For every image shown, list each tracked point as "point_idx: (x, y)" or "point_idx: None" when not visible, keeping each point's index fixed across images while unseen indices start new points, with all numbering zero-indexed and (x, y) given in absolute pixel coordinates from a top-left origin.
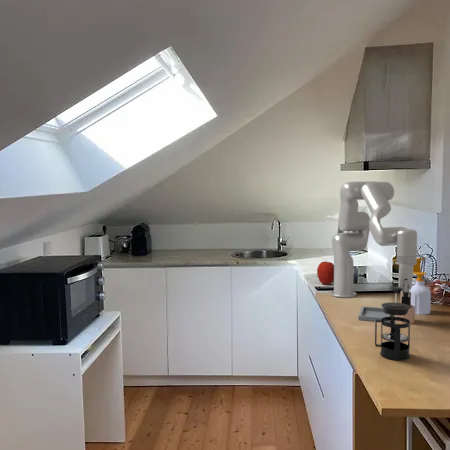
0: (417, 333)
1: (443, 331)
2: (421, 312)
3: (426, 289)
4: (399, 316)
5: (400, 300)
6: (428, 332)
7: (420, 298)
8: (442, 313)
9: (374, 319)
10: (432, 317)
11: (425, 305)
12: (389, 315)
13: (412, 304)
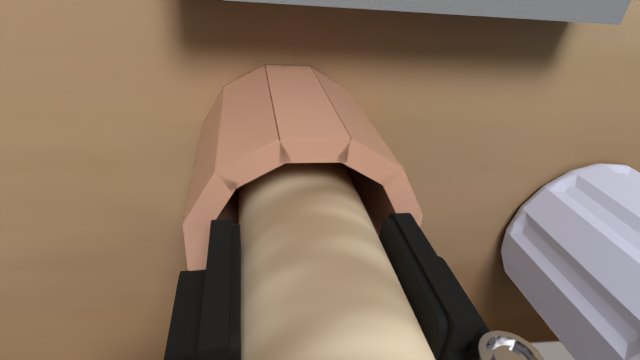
0: (4, 234)
1: (161, 357)
2: (513, 261)
3: None
4: (216, 126)
5: (315, 242)
6: (85, 294)
7: (601, 350)
8: (552, 331)
9: None
10: (469, 296)
11: (549, 323)
12: (317, 2)
13: (597, 243)
